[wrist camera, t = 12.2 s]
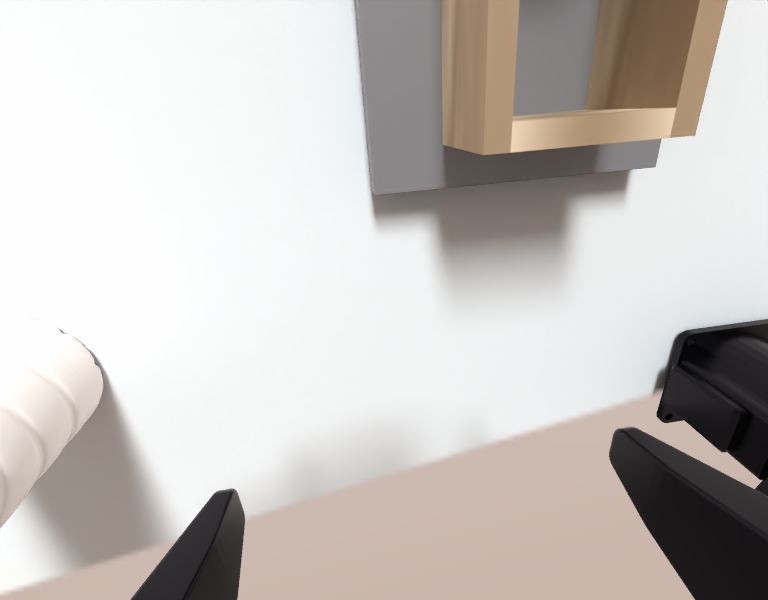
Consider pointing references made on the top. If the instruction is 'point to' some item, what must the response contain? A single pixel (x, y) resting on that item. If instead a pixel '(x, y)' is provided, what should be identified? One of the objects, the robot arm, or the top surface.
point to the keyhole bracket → (606, 84)
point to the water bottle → (39, 402)
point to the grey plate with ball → (424, 97)
